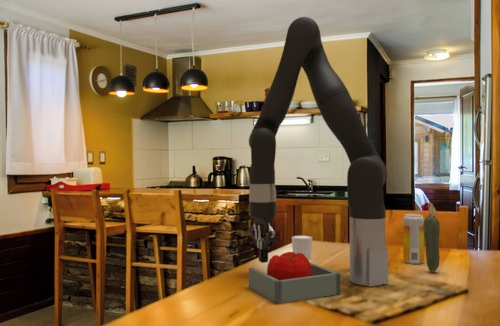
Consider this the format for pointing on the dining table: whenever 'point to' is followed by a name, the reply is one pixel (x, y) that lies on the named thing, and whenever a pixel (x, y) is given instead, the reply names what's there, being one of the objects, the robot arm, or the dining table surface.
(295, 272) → the tomato
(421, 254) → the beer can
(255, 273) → the crate
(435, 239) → the vegetable
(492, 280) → the dining table surface
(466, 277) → the dining table surface
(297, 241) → the white cylindrical piece
